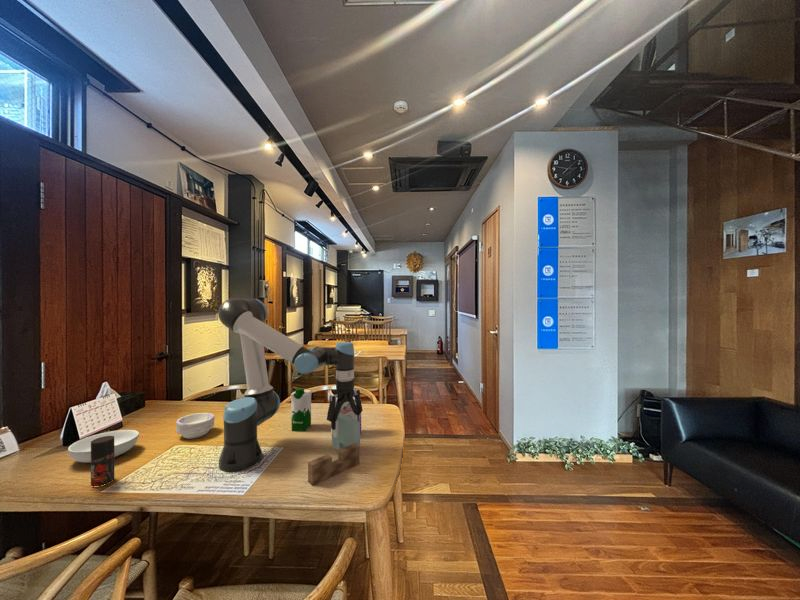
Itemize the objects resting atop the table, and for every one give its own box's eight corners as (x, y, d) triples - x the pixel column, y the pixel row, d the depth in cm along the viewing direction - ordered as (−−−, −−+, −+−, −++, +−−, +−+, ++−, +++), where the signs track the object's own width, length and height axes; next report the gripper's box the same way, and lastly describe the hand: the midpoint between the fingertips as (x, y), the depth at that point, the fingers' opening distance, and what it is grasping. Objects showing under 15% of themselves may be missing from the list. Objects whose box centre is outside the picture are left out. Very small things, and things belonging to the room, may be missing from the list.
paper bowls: (221, 431, 150) (221, 415, 150) (187, 444, 136) (187, 426, 136) (202, 425, 157) (202, 410, 157) (169, 437, 143) (169, 420, 143)
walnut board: (312, 485, 105) (312, 465, 105) (308, 482, 107) (308, 461, 107) (359, 463, 119) (359, 445, 119) (355, 461, 121) (355, 443, 121)
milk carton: (289, 431, 149) (288, 390, 149) (297, 424, 158) (296, 385, 158) (306, 432, 148) (306, 390, 148) (313, 424, 157) (313, 385, 157)
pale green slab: (353, 459, 123) (353, 423, 123) (332, 445, 134) (331, 413, 134) (359, 456, 125) (359, 421, 125) (337, 443, 136) (337, 411, 136)
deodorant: (119, 477, 111) (119, 435, 111) (103, 487, 105) (103, 443, 105) (102, 477, 111) (101, 435, 111) (85, 487, 105) (85, 443, 105)
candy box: (331, 438, 142) (331, 402, 142) (331, 432, 147) (330, 398, 148) (361, 434, 145) (361, 399, 146) (359, 429, 151) (359, 395, 151)
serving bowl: (147, 451, 130) (147, 435, 130) (77, 476, 112) (77, 457, 112) (127, 440, 141) (127, 425, 141) (60, 461, 122) (60, 443, 123)
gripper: (327, 386, 119) (327, 444, 119) (370, 376, 134) (371, 428, 134) (317, 382, 125) (317, 438, 125) (360, 373, 140) (360, 423, 140)
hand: (345, 433), depth 129 cm, fingers open, 9 cm apart
